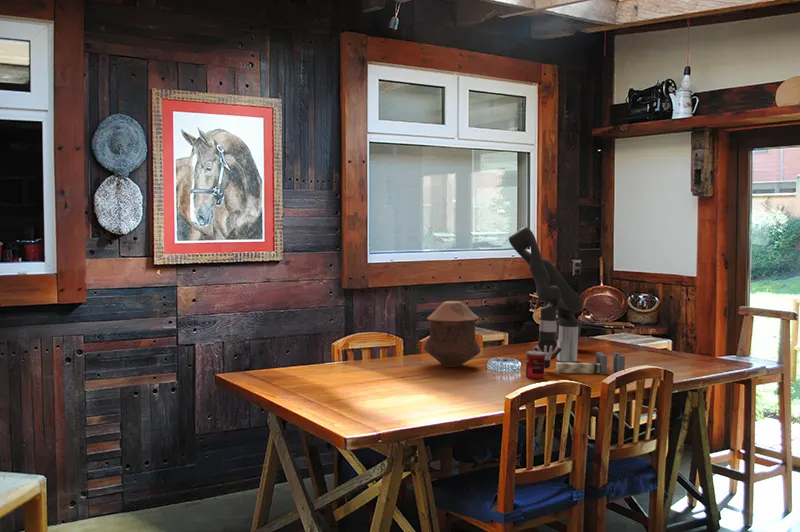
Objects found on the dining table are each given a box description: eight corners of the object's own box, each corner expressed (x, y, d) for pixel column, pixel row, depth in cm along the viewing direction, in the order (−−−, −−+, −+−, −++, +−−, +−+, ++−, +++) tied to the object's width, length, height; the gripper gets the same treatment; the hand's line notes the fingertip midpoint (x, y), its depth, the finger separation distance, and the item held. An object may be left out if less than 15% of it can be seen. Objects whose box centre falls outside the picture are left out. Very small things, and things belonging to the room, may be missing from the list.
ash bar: (557, 372, 348) (558, 363, 348) (555, 370, 352) (556, 362, 352) (601, 373, 349) (602, 364, 348) (599, 371, 353) (599, 363, 353)
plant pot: (548, 347, 423) (549, 318, 422) (572, 346, 427) (573, 318, 426) (561, 351, 408) (563, 321, 407) (586, 351, 413) (588, 321, 412)
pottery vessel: (489, 365, 360) (491, 301, 359) (462, 373, 339) (464, 305, 338) (442, 359, 375) (443, 297, 373) (413, 366, 354) (414, 300, 352)
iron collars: (600, 374, 346) (601, 355, 346) (595, 370, 355) (595, 352, 355) (624, 375, 346) (625, 356, 346) (617, 371, 356) (618, 352, 355)
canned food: (531, 375, 340) (532, 350, 340) (547, 377, 335) (548, 352, 335) (522, 377, 334) (523, 352, 334) (538, 380, 329) (539, 354, 329)
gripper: (534, 330, 345) (533, 369, 346) (564, 331, 346) (562, 370, 346) (531, 328, 353) (530, 366, 354) (560, 329, 353) (559, 367, 354)
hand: (546, 368), depth 350 cm, fingers closed
